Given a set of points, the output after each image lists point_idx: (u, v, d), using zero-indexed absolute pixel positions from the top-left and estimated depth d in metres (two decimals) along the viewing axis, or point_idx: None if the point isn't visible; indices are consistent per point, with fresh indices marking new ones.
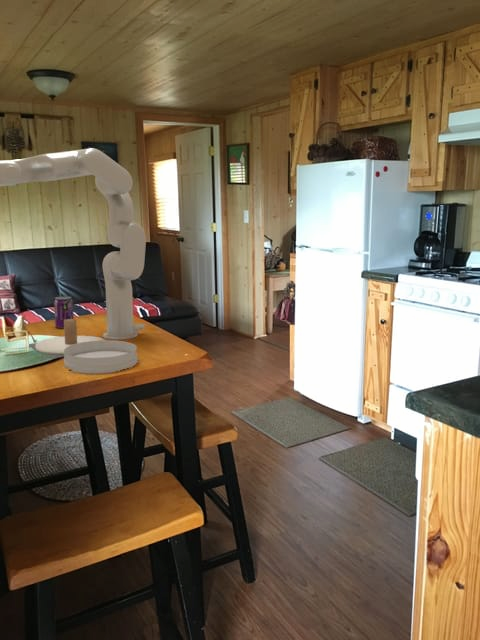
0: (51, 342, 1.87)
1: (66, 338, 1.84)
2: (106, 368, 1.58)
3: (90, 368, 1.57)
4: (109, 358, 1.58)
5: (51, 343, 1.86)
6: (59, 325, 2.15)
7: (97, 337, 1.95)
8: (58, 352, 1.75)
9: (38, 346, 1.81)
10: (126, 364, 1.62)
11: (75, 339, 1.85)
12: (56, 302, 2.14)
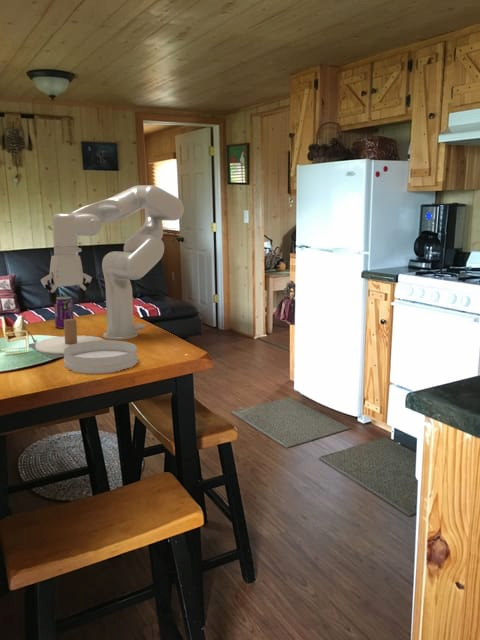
0: (51, 342, 1.87)
1: (66, 338, 1.84)
2: (106, 368, 1.58)
3: (90, 368, 1.57)
4: (109, 358, 1.58)
5: (51, 343, 1.86)
6: (59, 325, 2.15)
7: (97, 337, 1.95)
8: (58, 352, 1.75)
9: (38, 346, 1.81)
10: (126, 364, 1.62)
11: (75, 339, 1.85)
12: None
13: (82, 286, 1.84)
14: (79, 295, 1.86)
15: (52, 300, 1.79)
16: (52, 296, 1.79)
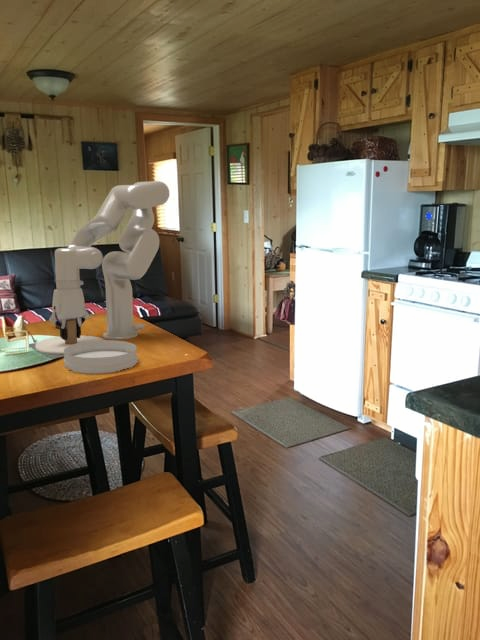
0: (51, 342, 1.87)
1: None
2: (106, 368, 1.58)
3: (90, 368, 1.57)
4: (109, 358, 1.58)
5: (51, 343, 1.86)
6: None
7: (97, 337, 1.95)
8: (58, 352, 1.75)
9: (38, 346, 1.81)
10: (126, 364, 1.62)
11: (75, 339, 1.85)
12: None
13: (79, 321, 1.86)
14: None
15: (63, 336, 1.83)
16: (63, 332, 1.83)
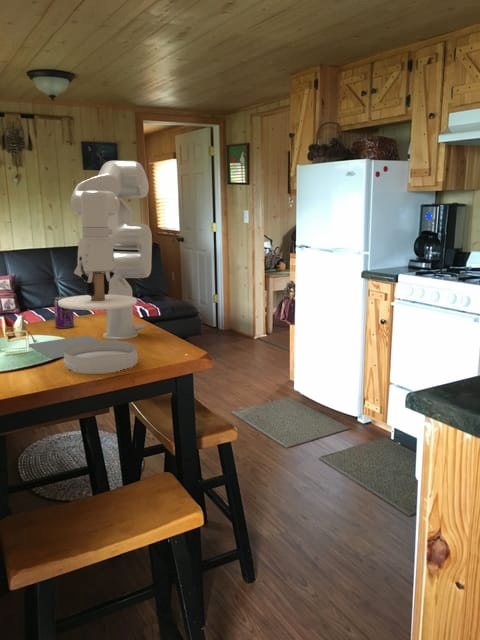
0: (75, 299, 1.65)
1: None
2: (106, 368, 1.58)
3: (90, 368, 1.57)
4: (109, 358, 1.58)
5: (76, 300, 1.64)
6: (59, 325, 2.15)
7: (126, 296, 1.73)
8: (85, 307, 1.54)
9: (61, 302, 1.60)
10: (126, 364, 1.62)
11: (103, 295, 1.64)
12: (56, 302, 2.14)
13: (107, 276, 1.64)
14: None
15: (89, 291, 1.62)
16: (89, 287, 1.61)
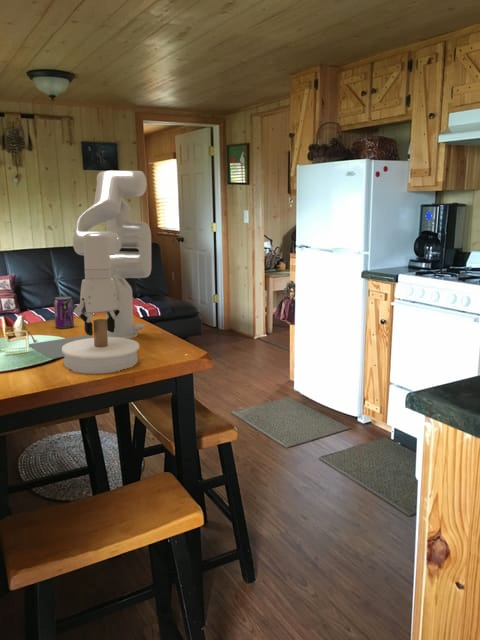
0: (79, 344, 1.68)
1: (96, 340, 1.66)
2: (106, 368, 1.58)
3: (90, 368, 1.58)
4: (109, 358, 1.58)
5: (79, 346, 1.67)
6: (59, 325, 2.15)
7: (128, 339, 1.76)
8: (88, 356, 1.57)
9: (65, 349, 1.63)
10: (126, 365, 1.62)
11: (106, 341, 1.67)
12: (56, 302, 2.14)
13: (112, 314, 1.67)
14: (108, 324, 1.69)
15: (88, 331, 1.63)
16: (88, 326, 1.63)
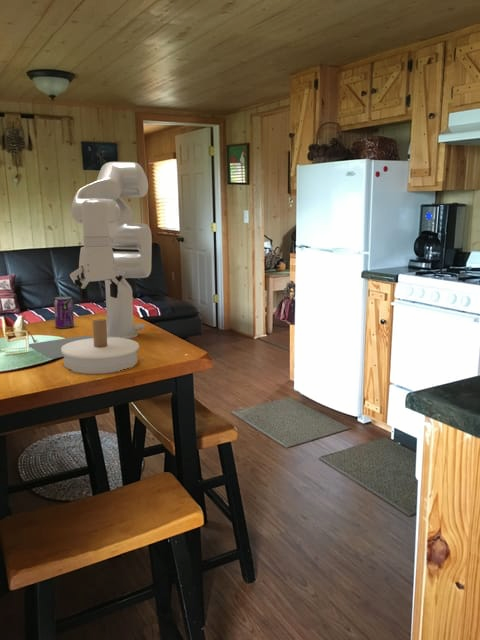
0: (78, 345, 1.68)
1: (95, 340, 1.65)
2: (106, 369, 1.58)
3: (90, 369, 1.57)
4: (109, 359, 1.58)
5: (78, 346, 1.67)
6: (59, 325, 2.15)
7: (128, 339, 1.76)
8: (88, 356, 1.56)
9: (65, 349, 1.63)
10: (126, 365, 1.62)
11: (105, 341, 1.66)
12: (56, 302, 2.14)
13: (115, 280, 1.66)
14: (111, 290, 1.68)
15: (83, 297, 1.61)
16: (83, 292, 1.61)
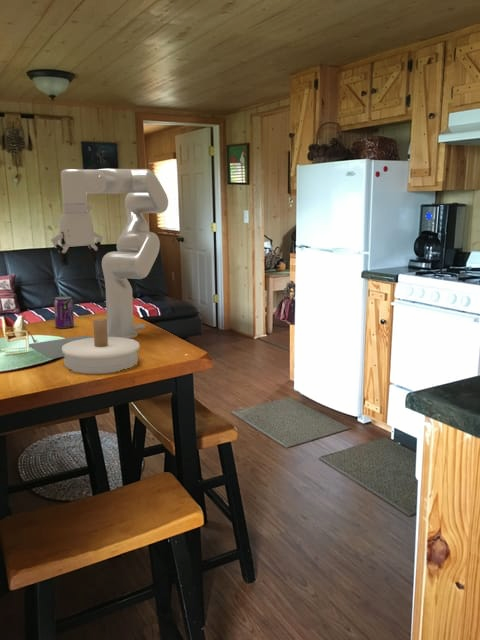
0: (79, 344, 1.68)
1: (96, 340, 1.65)
2: (106, 368, 1.58)
3: (90, 368, 1.57)
4: (109, 358, 1.58)
5: (79, 345, 1.67)
6: (59, 325, 2.15)
7: (129, 339, 1.76)
8: (88, 355, 1.56)
9: (65, 349, 1.63)
10: (126, 364, 1.62)
11: (106, 341, 1.66)
12: (56, 302, 2.14)
13: (93, 246, 1.77)
14: (90, 256, 1.79)
15: (64, 261, 1.71)
16: (64, 257, 1.71)
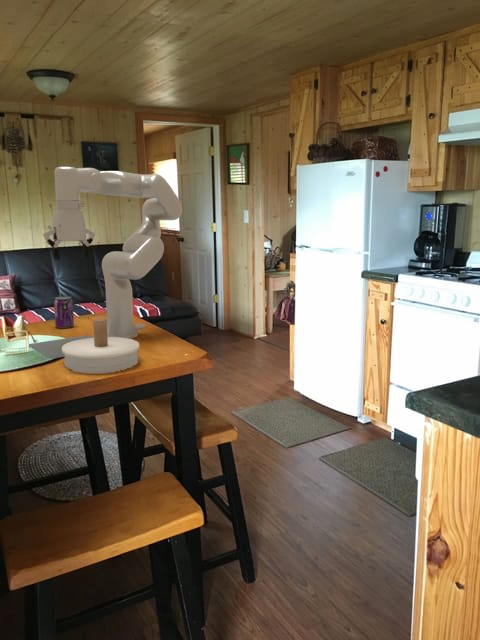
0: (79, 344, 1.68)
1: (96, 340, 1.65)
2: (106, 368, 1.58)
3: (90, 368, 1.57)
4: (109, 358, 1.58)
5: (79, 345, 1.67)
6: (59, 325, 2.15)
7: (129, 339, 1.76)
8: (88, 356, 1.56)
9: (65, 349, 1.63)
10: (126, 364, 1.62)
11: (106, 341, 1.66)
12: (56, 302, 2.14)
13: (85, 242, 1.82)
14: (82, 252, 1.84)
15: (55, 255, 1.76)
16: (55, 251, 1.76)
